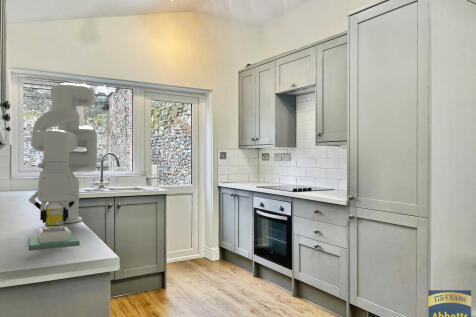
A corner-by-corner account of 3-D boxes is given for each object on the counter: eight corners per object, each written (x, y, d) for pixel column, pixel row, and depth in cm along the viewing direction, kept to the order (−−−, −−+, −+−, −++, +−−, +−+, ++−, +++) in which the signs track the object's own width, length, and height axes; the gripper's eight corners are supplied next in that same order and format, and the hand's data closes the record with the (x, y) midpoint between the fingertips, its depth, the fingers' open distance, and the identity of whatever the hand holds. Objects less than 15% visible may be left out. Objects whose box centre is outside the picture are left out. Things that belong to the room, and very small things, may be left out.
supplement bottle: (45, 226, 119) (46, 196, 119) (63, 225, 121) (64, 196, 121) (44, 229, 114) (44, 198, 114) (62, 228, 116) (63, 198, 116)
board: (28, 239, 121) (29, 226, 121) (73, 235, 129) (73, 223, 129) (29, 249, 108) (30, 235, 108) (79, 244, 115) (79, 231, 115)
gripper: (25, 167, 110) (24, 225, 110) (85, 167, 119) (83, 221, 119) (25, 166, 116) (24, 221, 116) (82, 167, 125) (80, 218, 125)
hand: (54, 221), depth 117 cm, fingers closed on supplement bottle, 5 cm apart
